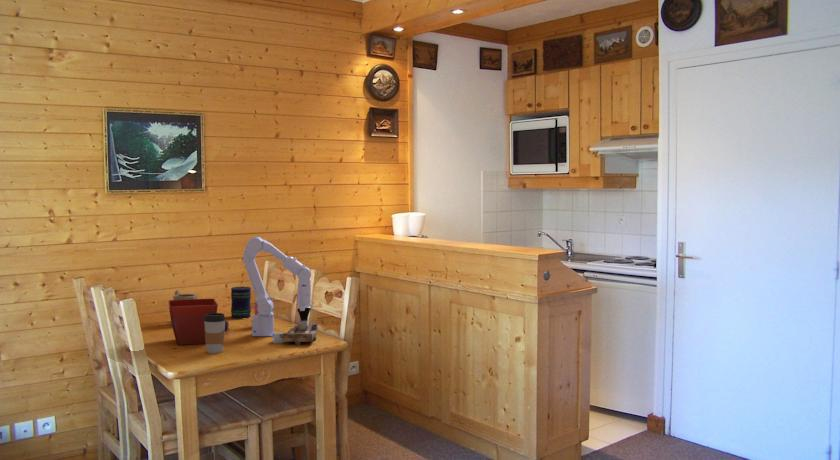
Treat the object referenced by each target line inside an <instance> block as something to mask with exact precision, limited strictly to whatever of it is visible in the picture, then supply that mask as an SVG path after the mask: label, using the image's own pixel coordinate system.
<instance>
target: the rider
mask: <svg viewBox="0 0 840 460" xmlns="http://www.w3.org/2000/svg"><path fill="white" fill-rule="evenodd" d="M297 325H298V330H307V329H308V327H309V319H308V320H303V319H300V318H299V319H298V320H297Z"/></svg>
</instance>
